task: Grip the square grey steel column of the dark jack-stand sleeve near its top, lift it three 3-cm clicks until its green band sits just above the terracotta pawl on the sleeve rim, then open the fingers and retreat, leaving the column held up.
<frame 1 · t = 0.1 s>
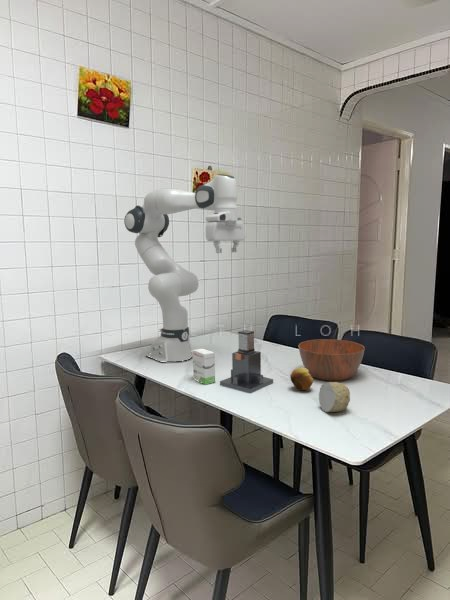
hand: (226, 252, 174), 48 cm above the table, fingers open, 8 cm apart
bowl: (330, 375, 173), on the table
ink box: (204, 381, 167), on the table
stand: (246, 384, 163), on the table
coral: (335, 411, 137), on the table
column: (246, 355, 161), point 11 cm above the table, slide at 0.0 cm
fruit: (301, 390, 156), on the table
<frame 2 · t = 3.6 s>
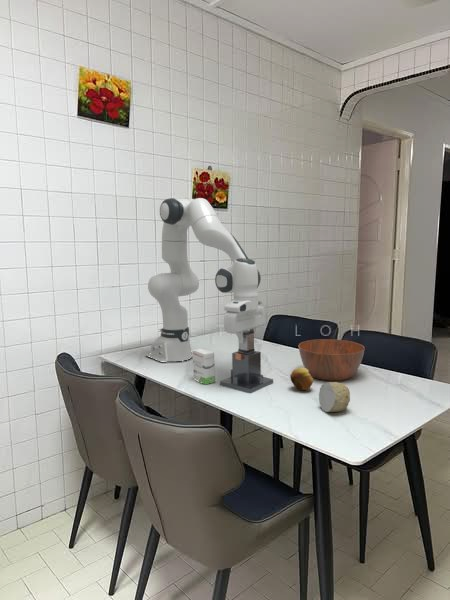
hand: (246, 341, 161), 16 cm above the table, fingers closed on column, 4 cm apart
column: (246, 355, 161), point 11 cm above the table, slide at 0.0 cm, touching gripper
everything else where it was.
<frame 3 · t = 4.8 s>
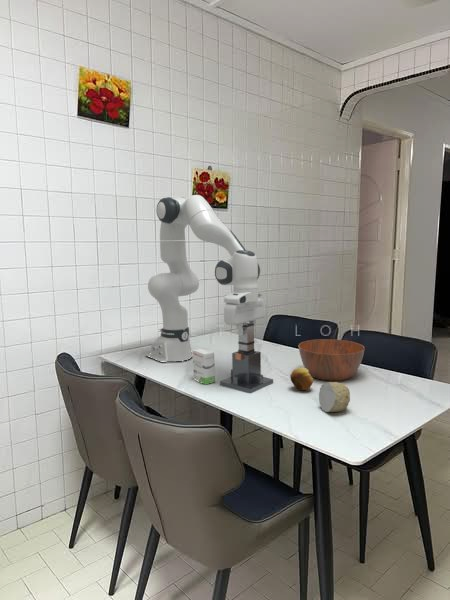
hand: (246, 333, 160), 19 cm above the table, fingers closed on column, 4 cm apart
column: (246, 348, 161), point 14 cm above the table, slide at 2.8 cm, touching gripper
everything else where it was.
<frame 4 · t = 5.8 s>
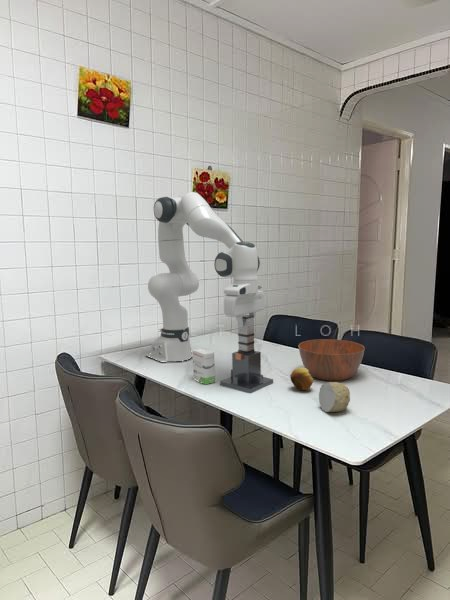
hand: (245, 325, 160), 22 cm above the table, fingers closed on column, 4 cm apart
column: (246, 340, 161), point 17 cm above the table, slide at 5.7 cm, touching gripper
everything else where it was.
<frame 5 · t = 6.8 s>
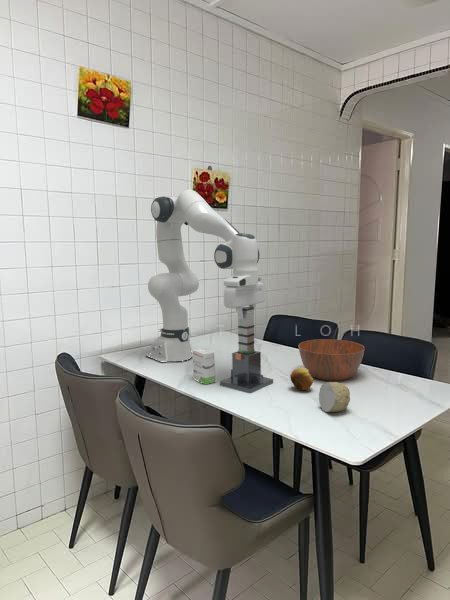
hand: (245, 317, 160), 25 cm above the table, fingers closed on column, 4 cm apart
column: (246, 332, 160), point 19 cm above the table, slide at 8.7 cm, touching gripper
everything else where it was.
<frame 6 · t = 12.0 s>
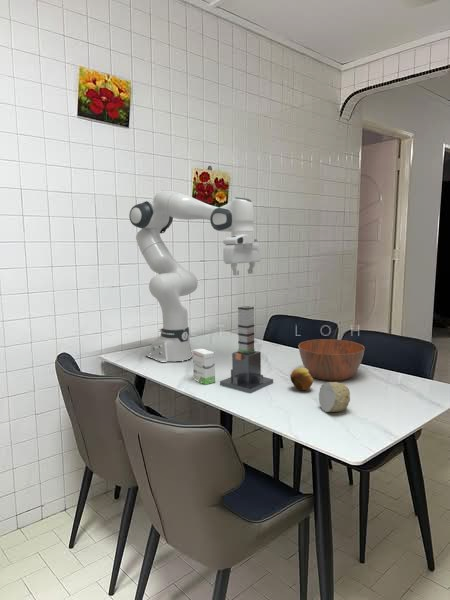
hand: (243, 274, 176), 39 cm above the table, fingers open, 8 cm apart
column: (246, 331, 160), point 20 cm above the table, slide at 8.9 cm
everything else where it was.
at the end: column slide at 8.9 cm; the gripper is holding nothing; column point 19.7 cm above the table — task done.
